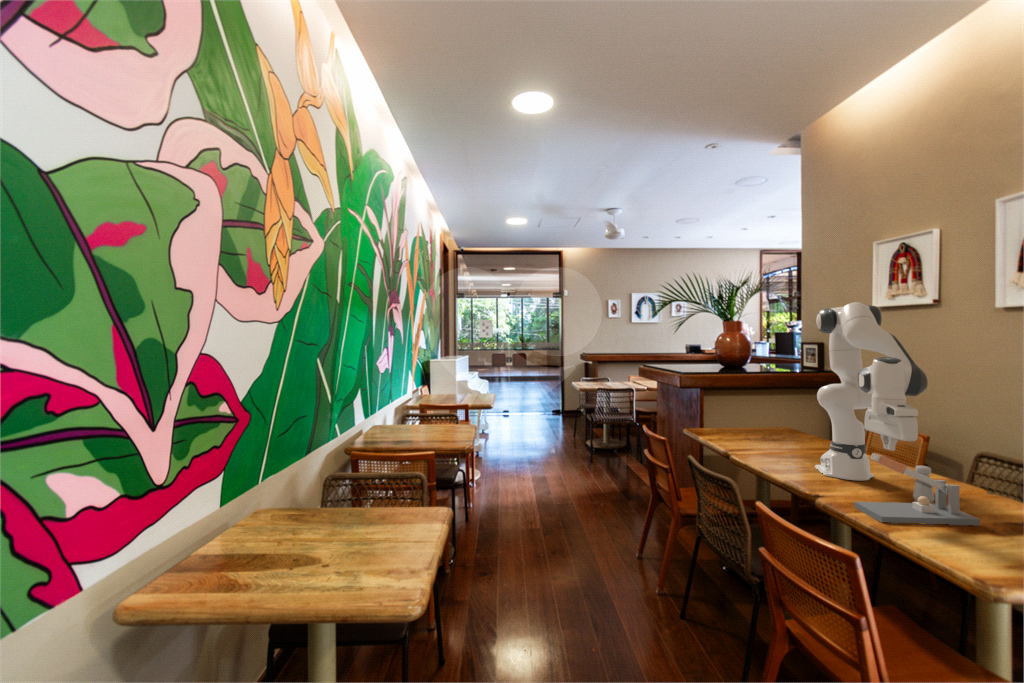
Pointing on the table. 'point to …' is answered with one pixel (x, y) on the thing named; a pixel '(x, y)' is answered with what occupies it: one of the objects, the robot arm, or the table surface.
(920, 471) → the salt shaker
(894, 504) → the base
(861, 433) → the robot arm
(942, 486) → the lever
